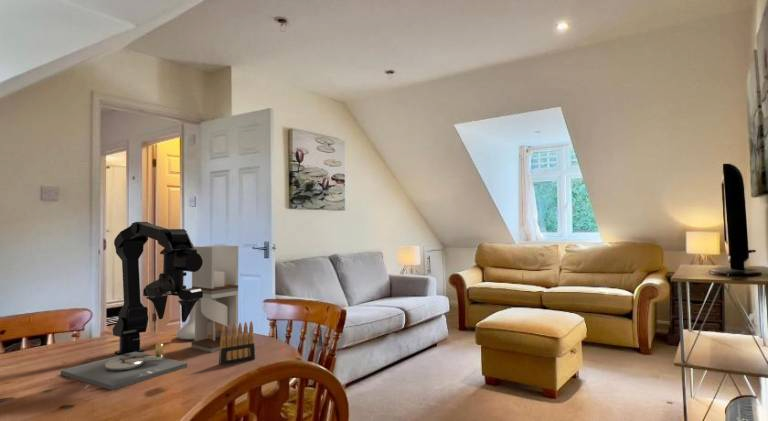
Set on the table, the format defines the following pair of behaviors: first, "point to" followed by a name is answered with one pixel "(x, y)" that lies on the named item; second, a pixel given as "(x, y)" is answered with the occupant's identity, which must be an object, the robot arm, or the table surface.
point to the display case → (215, 295)
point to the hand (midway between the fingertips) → (172, 320)
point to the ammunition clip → (236, 345)
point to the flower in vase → (188, 327)
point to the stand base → (121, 372)
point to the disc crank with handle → (133, 360)
